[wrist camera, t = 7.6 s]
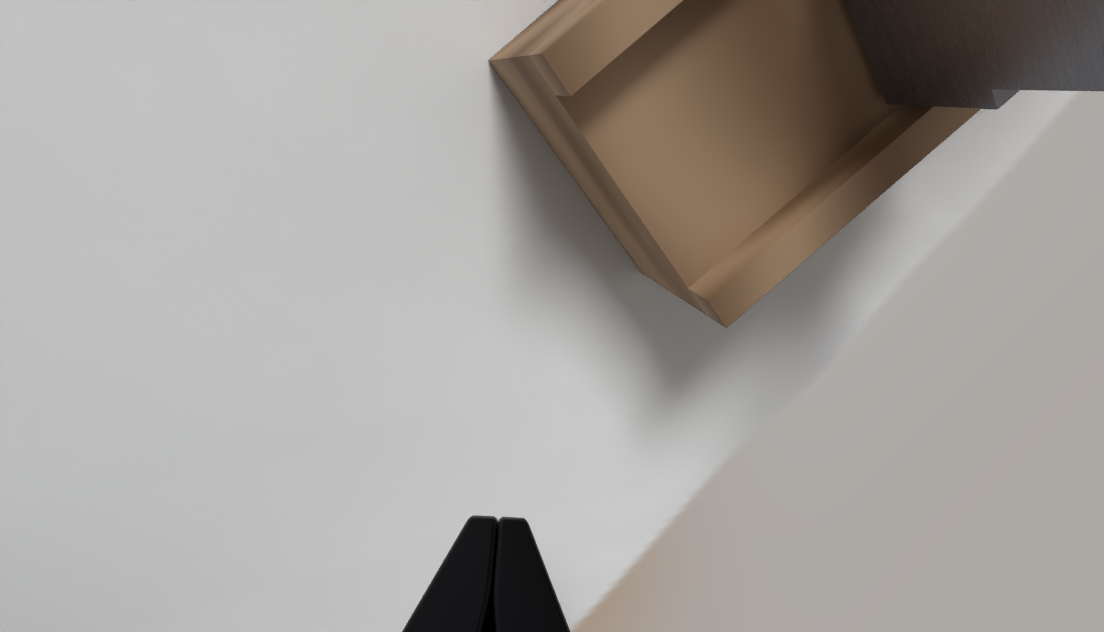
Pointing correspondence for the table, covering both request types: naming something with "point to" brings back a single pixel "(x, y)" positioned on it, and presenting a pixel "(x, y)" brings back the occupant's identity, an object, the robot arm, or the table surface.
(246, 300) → the table surface
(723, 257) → the track
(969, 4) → the plunger
